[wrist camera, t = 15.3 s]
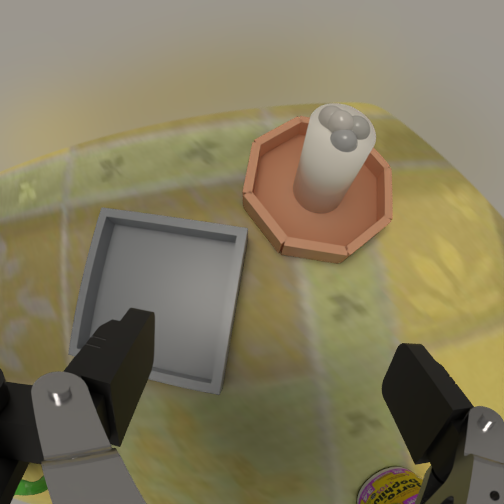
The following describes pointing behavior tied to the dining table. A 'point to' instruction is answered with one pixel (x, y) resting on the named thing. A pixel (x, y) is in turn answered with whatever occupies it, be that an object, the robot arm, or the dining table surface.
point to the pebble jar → (332, 156)
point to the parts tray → (166, 290)
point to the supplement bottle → (390, 487)
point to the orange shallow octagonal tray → (301, 220)
